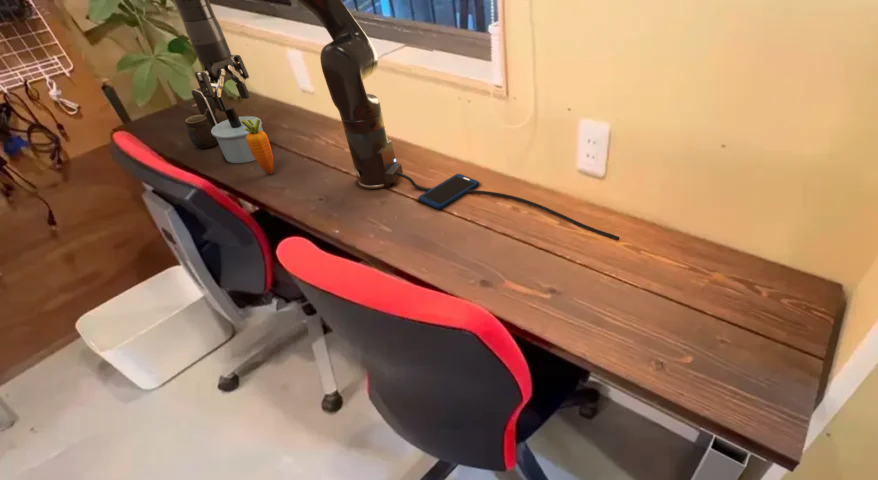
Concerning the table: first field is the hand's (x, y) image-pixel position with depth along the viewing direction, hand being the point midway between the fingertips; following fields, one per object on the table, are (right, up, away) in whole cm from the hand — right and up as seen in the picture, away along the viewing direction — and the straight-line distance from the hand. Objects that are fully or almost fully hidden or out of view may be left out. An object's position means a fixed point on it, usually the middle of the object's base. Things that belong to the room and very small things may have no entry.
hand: (234, 104), depth 134 cm
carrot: (+10, -19, -1) cm, 21 cm away
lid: (-1, -5, +4) cm, 6 cm away
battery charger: (-18, +1, +23) cm, 29 cm away
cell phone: (+57, -25, -12) cm, 64 cm away
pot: (-1, -11, +9) cm, 14 cm away
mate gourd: (-15, -7, +14) cm, 21 cm away
